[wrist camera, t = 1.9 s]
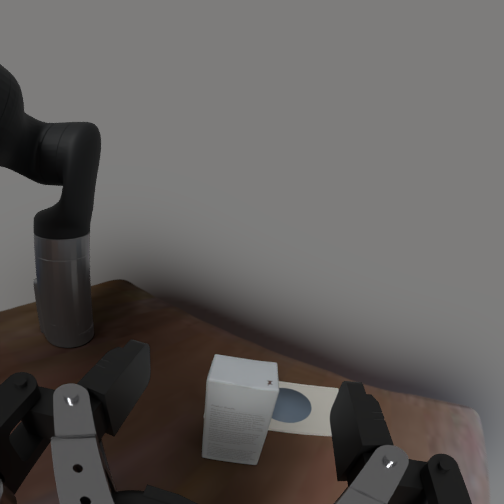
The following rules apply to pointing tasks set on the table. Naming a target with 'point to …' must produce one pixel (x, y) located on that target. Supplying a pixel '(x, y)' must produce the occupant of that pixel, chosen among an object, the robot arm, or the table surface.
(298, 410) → the paper sheet
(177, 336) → the table surface
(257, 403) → the skincare box
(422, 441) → the table surface
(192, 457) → the table surface
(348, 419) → the robot arm
